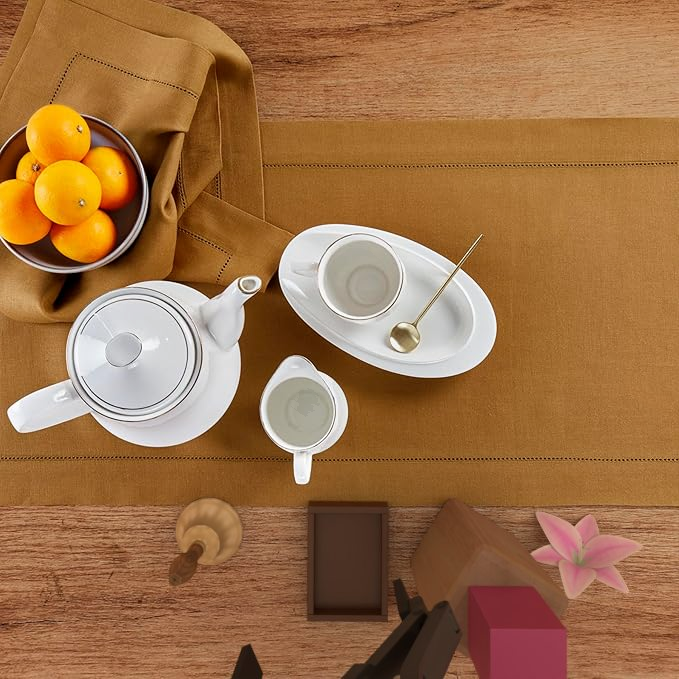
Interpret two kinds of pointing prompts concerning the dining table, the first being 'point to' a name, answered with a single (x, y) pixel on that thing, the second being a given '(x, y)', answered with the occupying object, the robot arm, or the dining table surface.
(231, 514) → the hand bell
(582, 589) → the lily
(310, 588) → the tray
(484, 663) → the pink block
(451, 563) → the wooden block
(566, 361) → the dining table surface
